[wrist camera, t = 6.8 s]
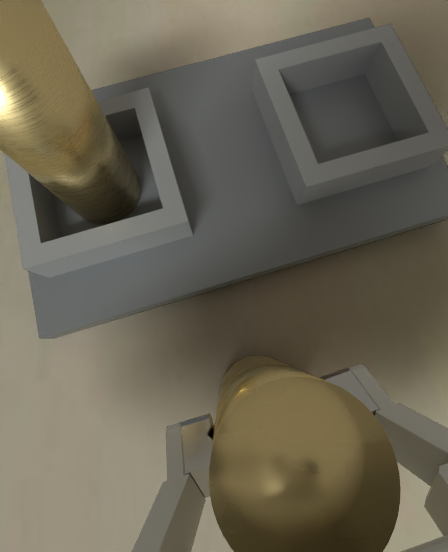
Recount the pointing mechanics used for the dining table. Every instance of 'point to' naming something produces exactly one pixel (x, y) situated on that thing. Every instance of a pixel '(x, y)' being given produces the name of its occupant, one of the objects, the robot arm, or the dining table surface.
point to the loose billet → (299, 464)
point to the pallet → (242, 175)
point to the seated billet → (59, 119)
